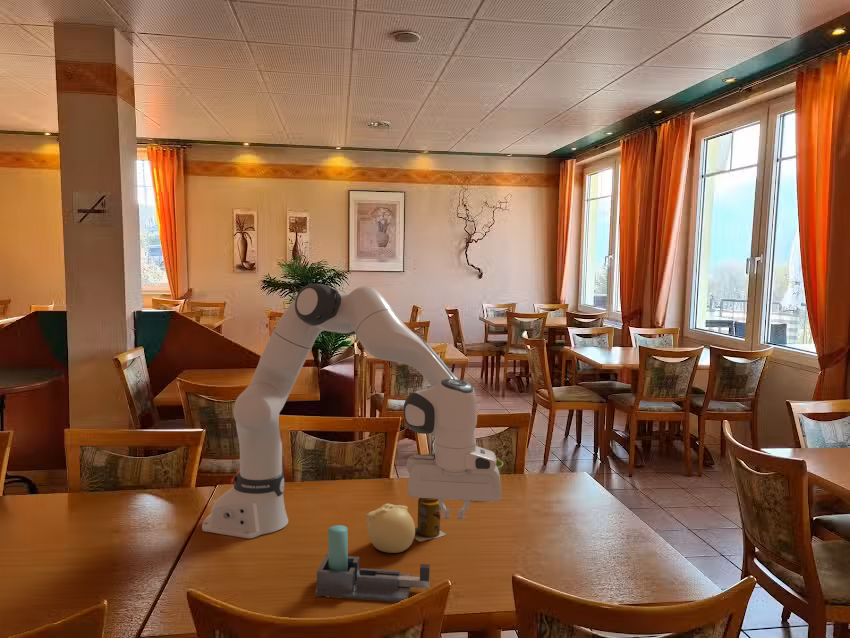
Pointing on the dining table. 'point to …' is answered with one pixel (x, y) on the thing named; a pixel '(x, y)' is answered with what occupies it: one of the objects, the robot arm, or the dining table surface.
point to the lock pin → (414, 578)
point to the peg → (338, 548)
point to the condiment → (428, 520)
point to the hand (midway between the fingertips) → (453, 517)
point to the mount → (359, 583)
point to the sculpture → (391, 528)
